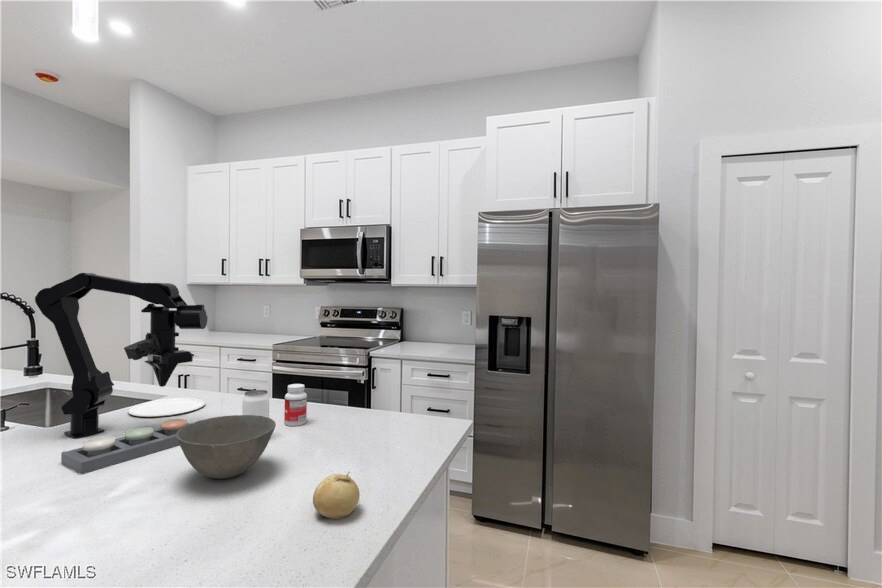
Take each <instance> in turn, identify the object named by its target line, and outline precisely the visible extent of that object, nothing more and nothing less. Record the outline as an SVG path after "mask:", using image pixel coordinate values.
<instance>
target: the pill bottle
mask: <svg viewBox="0 0 882 588" xmlns="http://www.w3.org/2000/svg"><path fill="white" fill-rule="evenodd" d="M305 390H306V389H305V384H302V383H292V384H288V385H287V393H285V395H284V414H283V415H284V419H283V420H284V421H283V422H284V425H286V426H288V427H299V426H303V425H305V424H306V422H307V415H308V414H307V410H308V408H307V407H308V394H307V392H305Z"/></svg>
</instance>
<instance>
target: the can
mask: <svg viewBox="0 0 882 588" xmlns="http://www.w3.org/2000/svg"><path fill="white" fill-rule="evenodd" d="M241 403H242V406H241V407H242V408H241V409H242V410H241V412H242V413H241V415H257V416H263V417H268V418H270V396H269V394H268V390H266V389H254V390H248V391H245V392H244V395H243V398H242V402H241Z"/></svg>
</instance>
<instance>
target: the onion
mask: <svg viewBox="0 0 882 588" xmlns="http://www.w3.org/2000/svg"><path fill="white" fill-rule="evenodd" d="M350 473H351V471H349V472H347V473H346V474H343V473H342V474H341V473H338V474H337V473H333V474H330V475H328V476H327V477H325V478H323V479H322V480H321V481H320V482H319V484H317V486H316V488H315V490H314V492H313V495H312V504H313V507H314V509H315V511H316V512H317V514H318V515H320V516H322V517H325V518H327V519H340V518H344V517H348V516H349V515H350V514H351V513H352V512H353V511H354V510H355V509H356V508H357V506H358V504H359V502H360V496H361V495H360V489H359V487H358V484H357V483H356V482H355V480H354V479H353V478H351V477H350V475H349V474H350Z"/></svg>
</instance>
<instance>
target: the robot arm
mask: <svg viewBox="0 0 882 588" xmlns="http://www.w3.org/2000/svg"><path fill="white" fill-rule="evenodd" d="M92 290H98V291H103V292H110V293H115V294H121V295H127V296H132V297H135V298H138V299H140V300H143V301H145V302H147V303H148V304H147V305H146V306H145V307H144V308H142V309H141V311H140V312H141V313H150V325H149V326H150V331H149V332H147V333H146V334H145V339H143V340H139V341H136V342H134V343H132V344H129V345H127V346H124V347H123V349H124V353H125V354H126V356H127V360H133V361H139V360H140V359H143V358H144V357H147V360H144V363H145V364H146V365H147V364H148V365H149V366H150V367H152V369H153V372H154V375H155V377H156V380H157V382H158V386H159V387H160V388H161V387H163V388H164V387H165V386H166V385H167V383H168V381H169V379H170V378H171V377H172V374H173V372H174V371H175V369H176V367H177V366H178V365H179V364H184V363H191V362H193V358H194V357H193V353H192V352H191V351H190V350H189V351H188V350H182V349H181V350H179V349H180V348H179V346H178V347H177V346H176V337H179V336H180V333H179V332H176V327H178V328H179V329H180V330H205V329H206V327H207V324H208V315H207V314H208V313H207V310H206V309H205V305H204V304H195V305H194V304H187V302H186V301H185V300H184V299H183V297H182V296H181V295H180V291H179V289H178V287H177V285H175V284H173V283H169V282H168V283H167V282H141V281H140V282H139V281H134V280H133V281H132V280H129V279H128V280H127V279H121V278H117V277H111V276H105V275H99V274H96V273H92V272H91V273H90V272H80V273H78V274H76V275H74V276H73V277H71V278H68V279H66V280H64V281H61V282H59V283H56V284H54V285H52V286H50V287H46V288H42V289H41V290H39V291H38V293H36V296H34V303H35V304H36V306H37V307H38V309H39V311H40V312H41V314H42V315H43V316H44V317H45V318H47V319H48V321H49V322H51V323H52V325H53V326H54V328H55V331H56V333H57V336H58V338H59V341H60V344H61V346H62V348H63V352H64V354H65V357H66V359H67V361H68V364H69V367H70V369H71V373H72V375H73V378H72V382H71V383H72V384H71V393H72V397H71V398H69V400H67V401H66V402H64V403H63V405H62V406H61V407H60V409H61V410H62V412H63V414H64V415H66V416H67V415H70V417H69V418H70V419H69V420H70V423H69V424H70V425H69V427H70V428H69V430H67V431H64V435H65V436H68V437H71V438H72V439H78V438H82V437H87V436H91V435H94V434H95V435H96V434H99V433H104V432H105V429H104V428H101V427H99V424H100V423H99V421H100V420H99V417H100V416H99V413H100V411H99V409H100V408H99V407H103V406H104V405H105V404H106V401H107V399H109V398H110V397H111V395H112V393H113V391H114V389H113V386H115V383H114V382H113V381H112V379H111V375H110V373H109V371H106V372H104V371H103V372H101V370H100V369H98V367H96V364H95V361H94V359H93V356H92V353H91V351H90V348H89V346H88V345H89V344H88V342H87V340H86V338H85V335H84V332H83V330H82V327H81V325H80V322H79V320H78V319H79V318H78V315H79V311H80V303H79V300H81V299H83V298H84V297H86V295H88V294H89V293H90V292H91V291H92ZM157 305H161V306H157ZM175 309H176V310H175Z"/></svg>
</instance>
